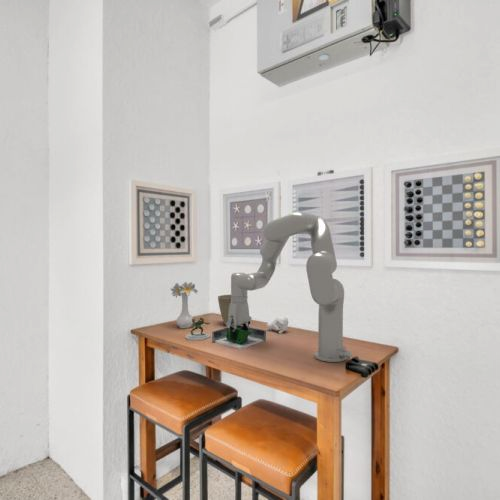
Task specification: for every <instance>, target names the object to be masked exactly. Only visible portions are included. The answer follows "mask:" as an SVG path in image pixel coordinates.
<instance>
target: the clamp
mask: <svg viewBox="0 0 500 500" xmlns="http://www.w3.org/2000/svg"><path fill="white" fill-rule="evenodd" d="M226 328H227V334H226V339H228V340H231V339H230V331H229V329H228V327H226ZM233 328H234V327H233ZM235 331H236V340H231V341H234V342H237V343H244V342H245V341H247V339H248V335H251V333H252V332H251V331H246V330H242V329H240V328H236V330H235Z"/></svg>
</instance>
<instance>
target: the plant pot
mask: <svg viewBox="0 0 500 500" xmlns="http://www.w3.org/2000/svg"><path fill="white" fill-rule="evenodd" d="M217 300H218V306H219V311H220V315H221V318H222V320H223V324H224V325H225V326H227V325H226V323H227V321H228V313H229V306H230V303H231V294H222V295H218V296H217Z"/></svg>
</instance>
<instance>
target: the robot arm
mask: <svg viewBox="0 0 500 500" xmlns="http://www.w3.org/2000/svg"><path fill="white" fill-rule="evenodd" d="M295 235H309V236H310V247H311V250H312V251H311V252H312V253H311V254H310V256H309V257H308V258H307V260H306V265H305V266H306V267H305V268H306V275H307V279H308V287H309V289H310V290H309V291H310V295H311V298H312V300H313V301H314V302H315V303H316V304H317V305H318V318H317V319H318V328H317V329H318V330H317V331H318V332H317V334H318V338H317V339H318V349H317V351H315V352H314V357H315V359H317V360H318V361H322V362H327V363H340V362H341V363H342V362H344V361H346V360H347V359H348V358H349V359H352V357H353V353H352V351H349V350H346V346H344V342H343V341H344V340H343V339H344V337H343V335H344V333H343V332H344V331H343V330H344V327H343V326H344V325H343V324H344V322H343V321H344V300H345V287H344V286H343V283H341V281H339V280H338V279H336V278H334V277H333V274H334V272H335V271H336V270H337V266H338V263H337V258H336V254H335V248H334V244H333V240H332V234H331V230H330V227H329V225H328V223H327V222H326V220H325V219H323V218H322V217H320V216H319V215H316V214H311V213H306V212H299V211H298V212H297V211H296V212H293V213H290V214H287V215H284V216H281V217H278V218H276V219H272V220H270V221H269V222H268V223H266V224H265V226H264V228H263V236H264V238H265V240H264V242H263V243H262V244H261V247H260V249H259V254H260V256H261V259H262V261H261V264H260V266H259V268H258V270H257V272H251V273H245V272H234V273H233V272H232V273H231V276H230V295H231V303H230V306H229V313H228V321H227V323H226V325H225V326H226V328H228V329H229V331H230V339H231V340H236V331H235V330H236V327H237V326H238V325H242V326H243V327H242V330H246V331H248V328H249V327H250V325H251V321H252V319H253V318H252V316H250V307H249V302H248V298H249V297H248V291H255V290H256V291H257V290H259V289H263V288H265V287H266V286H267V285H268V283H269V282H270V280H271V278H272V277H273V276H274V274H275V273H274V272H275V271H276V266H277V261H278V259H279V257H280V254H281V252H282V251H283V249H284V247H285V245H286V244H287V242H288V240H289V238H290V237H292V236H295ZM233 326H234V328H233Z"/></svg>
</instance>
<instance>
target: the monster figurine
mask: <svg viewBox="0 0 500 500" xmlns="http://www.w3.org/2000/svg"><path fill="white" fill-rule="evenodd" d="M204 319H205V318H203V317H200V318H199V319H198V320H197V321H195V320H196V319H195V317H194V318H193V319H192V322H193V323H192V325H191V330H190V333H187V334H186V335H185V340H187V341H192V342H193V341H194V342H195V341H197V342H198V341H206V340H209V339H210V338H211V334H209V333H206V332H204V328H203V327H202V325H203V324H205V325H208V326H209V325H210V324H211V323H210V322H206V321H205V320H204ZM199 329H200V331H199V332H197V331H196V332H194V331H195V330H199Z"/></svg>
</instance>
